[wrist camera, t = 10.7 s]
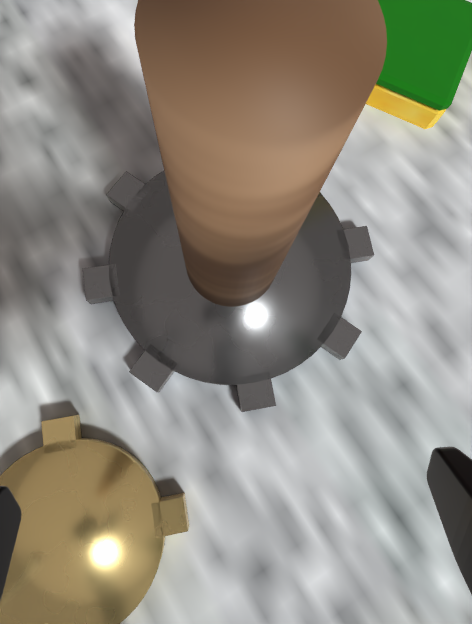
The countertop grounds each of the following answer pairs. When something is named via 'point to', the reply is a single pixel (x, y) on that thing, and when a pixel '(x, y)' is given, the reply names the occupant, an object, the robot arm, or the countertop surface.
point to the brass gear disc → (84, 530)
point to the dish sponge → (422, 58)
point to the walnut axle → (252, 122)
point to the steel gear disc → (222, 319)
